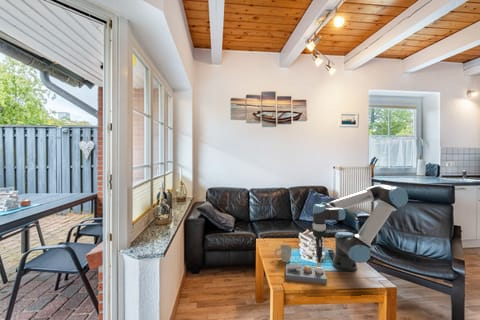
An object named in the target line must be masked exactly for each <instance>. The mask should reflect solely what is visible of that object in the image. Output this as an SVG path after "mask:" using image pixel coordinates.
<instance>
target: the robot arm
mask: <svg viewBox="0 0 480 320" xmlns="http://www.w3.org/2000/svg"><path fill="white" fill-rule="evenodd" d="M408 200H409V196H408V193H407V190H405V188H402V187H400V186H396V185H391V184H385V183H381V184H377V185H373V186H368V187H367V188H364V190H361V191H359V192H355V193H353V194H350V195H347V196H344V197H341V198H339V199H335V200H332V201H328V202H325V201H324V202H323V201H322V202H320V203H315V204H313V206H312V223H311V225H312V235H313V237H315V244H316V245H315V252H316V254H315V258H316V266H317V267H322V258H323V242H324V241H323V240H324V239H323V238H324V237H326V228H327V227H326V223H327V221H343V220H345V218H346V209H349V208H352V207H356V206H359V205H362V204H365V203H368V202H370V203H372V202H377V204H376V206H375V207H374V209H372V211H371V213H370V214H369V216H367V219H366V220H365V222H364V224H362V226H361V228H360V229H359V231H358V232H357V233H356V234H354V233H353V232H348V231H338V232H337V231H336V232H335V236H334V237H335V238H334V239H335V241H334V242H335V243H334V244H335V245H334V246H335V250H334V251H335V252H334V256H333V259H332V266H333V267H334V268H336V269H338V270H342V271H345V272H353V271H356V270H357V269H358V266H357V264H363V263H366V262H368V261H369V260H370V258H371V248H372V244H371V243H372V242H373V240H374V238H376V236H377V234H378V233H379V231H380V230H381V228H382V227H383V225H385V223H386V221H387V219H388V218H389V216H390V215H391V213H392V212H395V211H397V209H398V208H400V207H404V206H405V205H406V204H407V203H408Z"/></svg>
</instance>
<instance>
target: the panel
mask: <svg viewBox="0 0 480 320" xmlns="http://www.w3.org/2000/svg"><path fill="white" fill-rule="evenodd" d="M288 264H289V263H288ZM288 264H287V263H286V265H285V280H287V281H296V282H304V283H313V284H314V283H315V284H322V285H323V284H324V285H327V283H328V280H327V275H326V273H325V268H324V267H322V268H323V274H322V275H319V274H316V266H311V273H305V272H304V266H305V265H301V269H292V270H289V269H288Z"/></svg>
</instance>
